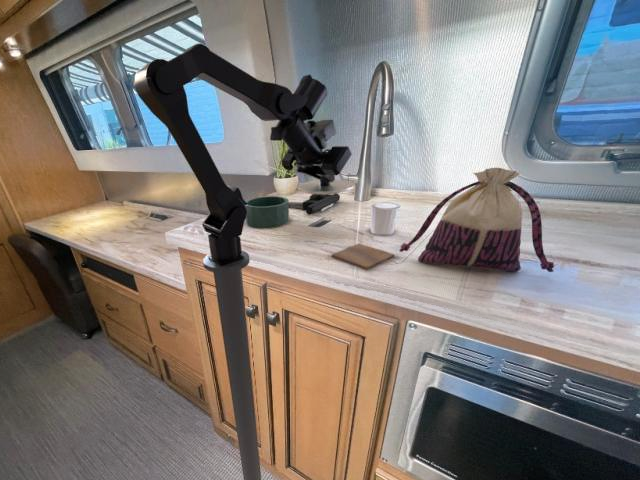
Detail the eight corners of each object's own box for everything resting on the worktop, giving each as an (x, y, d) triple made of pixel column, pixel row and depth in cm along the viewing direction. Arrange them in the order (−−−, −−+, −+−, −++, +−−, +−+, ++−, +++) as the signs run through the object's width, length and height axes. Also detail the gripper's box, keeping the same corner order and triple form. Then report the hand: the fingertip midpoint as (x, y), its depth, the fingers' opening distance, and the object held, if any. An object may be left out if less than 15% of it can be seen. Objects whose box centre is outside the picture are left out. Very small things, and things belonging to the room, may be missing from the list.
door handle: (274, 204, 107) (316, 206, 97) (304, 192, 120) (344, 192, 110) (275, 214, 109) (316, 217, 99) (305, 200, 121) (344, 202, 111)
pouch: (396, 267, 65) (414, 170, 55) (398, 252, 71) (415, 162, 61) (553, 284, 54) (610, 168, 44) (540, 265, 60) (588, 159, 50)
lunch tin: (263, 231, 91) (262, 210, 88) (238, 222, 102) (236, 202, 98) (297, 220, 97) (297, 200, 94) (270, 213, 107) (270, 194, 104)
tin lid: (301, 198, 76) (301, 171, 73) (293, 186, 89) (293, 163, 86) (361, 193, 75) (364, 166, 72) (345, 182, 88) (347, 158, 85)
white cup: (394, 227, 85) (399, 201, 81) (396, 236, 79) (401, 209, 76) (368, 227, 87) (371, 201, 83) (368, 235, 81) (371, 208, 78)
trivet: (366, 269, 65) (366, 267, 65) (331, 256, 72) (331, 254, 72) (394, 256, 69) (394, 254, 69) (358, 245, 76) (359, 243, 76)
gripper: (350, 103, 64) (376, 154, 74) (289, 109, 77) (319, 152, 88) (321, 150, 64) (351, 194, 75) (266, 148, 78) (298, 186, 88)
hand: (328, 179), depth 81 cm, fingers closed on tin lid, 3 cm apart
